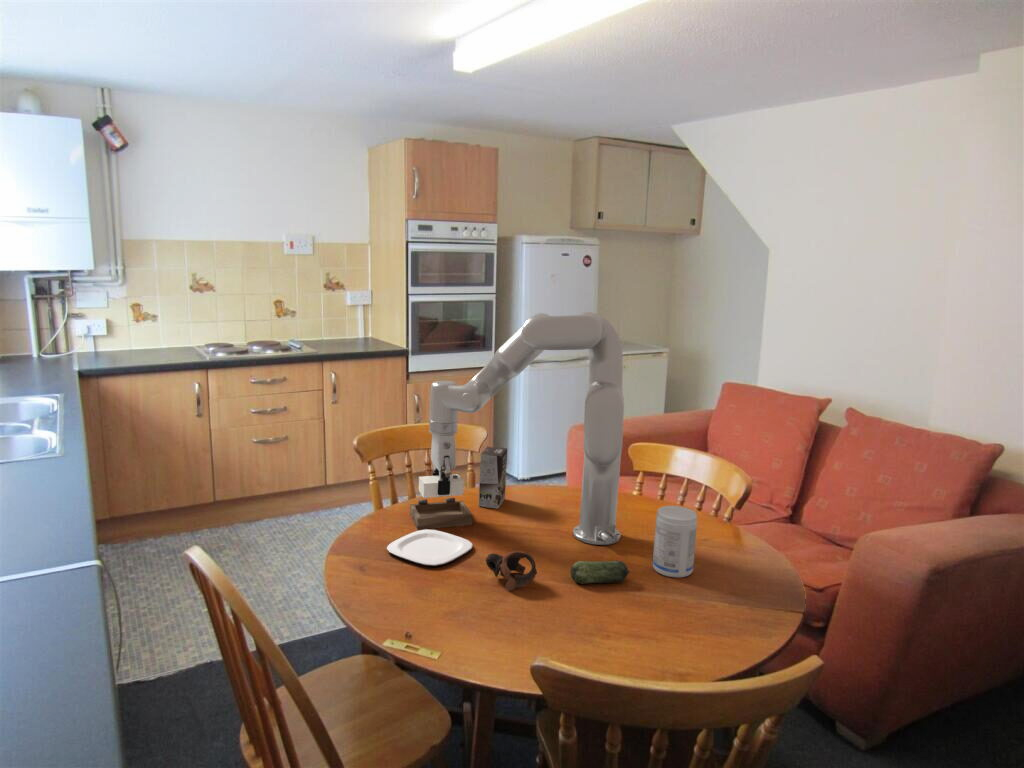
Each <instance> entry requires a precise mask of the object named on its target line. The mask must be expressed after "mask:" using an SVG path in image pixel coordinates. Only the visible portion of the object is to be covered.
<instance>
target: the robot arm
mask: <svg viewBox="0 0 1024 768" xmlns="http://www.w3.org/2000/svg"><path fill="white" fill-rule="evenodd" d="M577 350H578V351H580V350H581V351H582V350H588V356H589V361H588V363H589V364H588V367H589V368H588V369H589V374H588V388H587V389H588V390H587V392H586V396H585V399H584V411H583V412H584V416H583V417H584V419H583V422H584V423H583V451H584V453H583V455H584V457H583V469H582V481H581V482H582V483H581V497H580V511H579V512H580V513H579V524H578V525H576V526H575V527H573V530H572V534H573V536H574V537H575V538H576V539H577V540H579V541H580V542H582V543H585V544H589V545H597V546H598V545H599V546H603V545H604V546H607V545H612V544H615V543H617V542H619V541H620V540H621V535H622V534H621V532H620V531H619V530H618V528H616V524H617V523H616V522H617V509H618V498H619V497H618V496H619V483H620V472H621V458H622V451H623V440H624V439H623V437H624V435H623V433H624V415H625V414H624V412H625V411H624V407H625V406H624V405H625V402H624V399H625V398H624V391H623V374H624V373H623V371H624V369H623V362H624V361H623V347H622V342H621V338H620V336H619V333H618V331H617V330H616V328H615V327H614V326H613V325H612V323H611V322H610V321H608V320H607V319H606V318H604V317H603V316H602V315H599V314H598V313H595V312H592V311H583V312H580V313H578V314H577V315H574V314H573V315H549V314H547V313H545V312H544V313H543V312H542V313H541V312H540V313H535V314H534V315H531V316H529V318H527V319H526V320H525V321H524V323H523V325H521V326H520V327H519V328H518V329H517V330H516V331H515V332H514V333H513V334H512V335H511V336H510V337H509V338H508V339H507V340H506V341H505V342H504V343H503V344H502V345H501V346H500V347H499V348H498V349H497V350H496V352H495V353H494V355H493V357H492V358H491V359H490V361H488V362H487V364H486V365H485V366H484V367H482V369H481V370H480V371H479V372H478V373H476V375H474V376H473V378H472V379H471V380H469V381H468V382H466V383H465V384H462V385H458V383H457V382H455V381H452V380H436V381H433V382H432V383H431V385H430V391H429V392H430V395H429V397H430V398H429V419H428V420H429V422H428V423H429V425H428V426H429V429H428V433H430V434H431V444H430V445H431V447H430V449H431V450H430V459H431V463H432V465H433V467H432V476H438V475H439V480H438V495H449V494H450V475H452V474H451V473H452V471H455V469H456V467H457V464H456V461H457V460H456V458H457V457H456V451H457V450H456V434H457V433H458V421H459V420H458V417H459V412H460V413H465V414H474V413H477V412H479V411H480V410H481V409H482V408H483V407H484V406H485V405H486V404H487V403H488V402H489V401H490V400H491V399H492V398H493V397H494V396H495V395H496V394H497V393H498V392H499V391H500V390H501V389H502V388H504V386H505V385H507V383H509V382H510V381H511V380H512V379H514V378H516V377H518V376H519V375H520V374H521V373H522V372H523V371H524V370H526V368H527V367H528V366H529V365H530V364H532V363H533V361H534V360H536V359H537V357H539V356H540V355H541V354H542V353H543V352H544V351H577ZM451 470H452V471H451Z"/></svg>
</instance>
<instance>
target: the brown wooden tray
mask: <svg viewBox="0 0 1024 768" xmlns="http://www.w3.org/2000/svg"><path fill="white" fill-rule="evenodd" d="M410 515H411V516H410ZM409 516H410V517H412V518H411V519H413V520H412V521H414V522H413V523H414V525H415V527H416V530H418V529H419V530H425V529H428V530H430V529H429V528H431V529H440V528H441V527H443V528H450V527H451V528H452V526H455V527H464V525H467V526H473V513H472V512H471V511H470V509H469V508H468V507H467V505H466V504H465V502H464V501H463V500H457V501H456V498H455V497H445V501H439V502H428V499H418V500H417V503H413V504H412V503H411V504H409Z"/></svg>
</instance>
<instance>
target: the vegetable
mask: <svg viewBox="0 0 1024 768" xmlns="http://www.w3.org/2000/svg"><path fill="white" fill-rule="evenodd" d="M630 573H631V571H630V569H629V568H628V566H627V564H626V563H625V562H624V561H622V560H612V561H611V560H608V561H605V560H602V561H601V560H600V561H597V560H596V561H584V560H577V561H576V562H574V563H573V564H572V566H571V568H570V576H571V579H572V580H573V582H576V583H578V584H581V585H584V584H599V583H601V584H602V583H603V584H604V583H605V584H608V583H622V582H624V581H625V580H626V579H627V577H628V575H629V574H630Z"/></svg>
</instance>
